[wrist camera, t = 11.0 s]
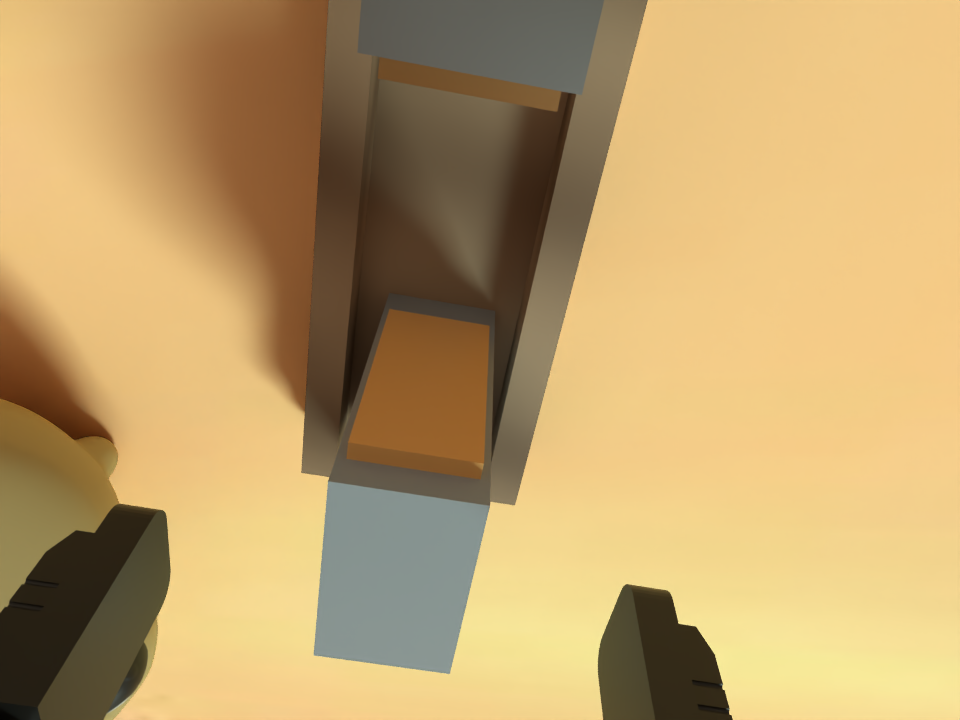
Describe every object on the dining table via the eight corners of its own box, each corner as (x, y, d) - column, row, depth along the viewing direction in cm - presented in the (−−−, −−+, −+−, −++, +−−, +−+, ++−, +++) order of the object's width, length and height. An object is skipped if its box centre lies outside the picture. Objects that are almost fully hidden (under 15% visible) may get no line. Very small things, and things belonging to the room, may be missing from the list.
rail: (367, -433, 13) (178, -936, 6) (728, -350, 14) (1010, -712, 6) (312, 422, 24) (217, 661, 16) (521, 455, 24) (528, 702, 16)
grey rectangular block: (390, 279, 20) (329, 464, 13) (497, 298, 20) (493, 489, 13) (372, 435, 22) (313, 655, 16) (466, 449, 23) (449, 673, 16)
